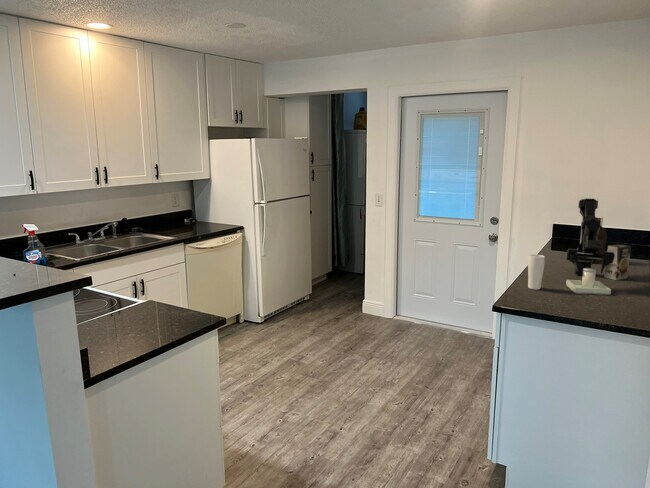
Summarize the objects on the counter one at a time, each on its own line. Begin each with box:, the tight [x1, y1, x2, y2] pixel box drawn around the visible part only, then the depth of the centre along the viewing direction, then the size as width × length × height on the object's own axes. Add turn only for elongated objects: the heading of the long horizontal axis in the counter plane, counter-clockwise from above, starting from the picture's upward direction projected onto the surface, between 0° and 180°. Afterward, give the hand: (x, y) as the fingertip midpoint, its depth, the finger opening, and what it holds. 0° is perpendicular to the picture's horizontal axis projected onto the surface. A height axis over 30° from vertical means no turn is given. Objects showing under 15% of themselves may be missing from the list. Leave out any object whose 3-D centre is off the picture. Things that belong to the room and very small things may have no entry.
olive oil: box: [591, 217, 608, 265], centre depth 276 cm, size 11×11×25 cm
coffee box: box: [603, 244, 632, 281], centre depth 242 cm, size 9×6×16 cm
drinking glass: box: [527, 254, 546, 291], centre depth 223 cm, size 7×7×15 cm
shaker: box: [581, 267, 597, 288], centre depth 221 cm, size 5×5×9 cm
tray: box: [565, 279, 612, 296], centre depth 222 cm, size 14×14×2 cm
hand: (589, 271), depth 219 cm, fingers open, 9 cm apart
